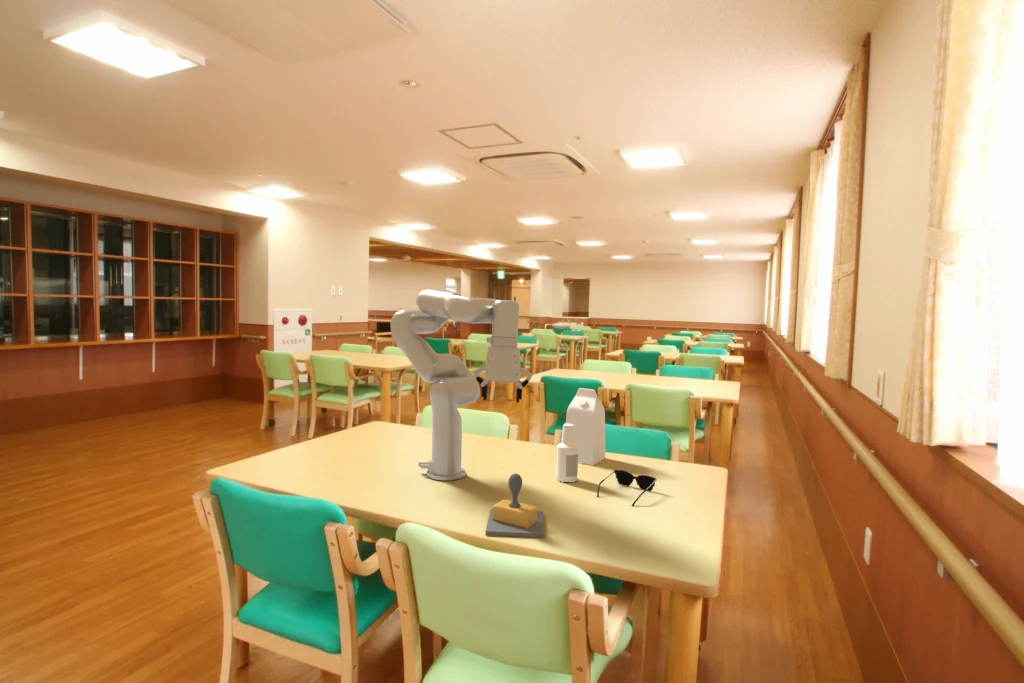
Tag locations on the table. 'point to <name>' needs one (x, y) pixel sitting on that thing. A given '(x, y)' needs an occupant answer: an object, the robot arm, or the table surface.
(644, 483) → the sunglasses
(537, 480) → the table surface
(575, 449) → the spray bottle
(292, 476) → the table surface
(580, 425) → the milk
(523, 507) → the rubber stamp
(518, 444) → the table surface
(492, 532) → the mat
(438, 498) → the table surface
